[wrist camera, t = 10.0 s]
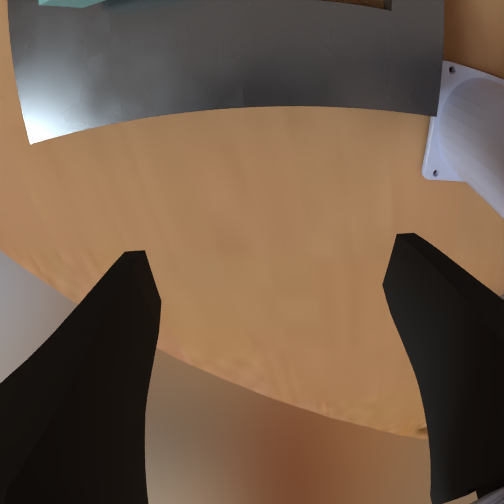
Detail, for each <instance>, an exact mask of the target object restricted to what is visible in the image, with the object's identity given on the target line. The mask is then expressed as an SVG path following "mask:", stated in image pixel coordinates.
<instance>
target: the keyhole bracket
mask: <svg viewBox="0 0 504 504" xmlns="http://www.w3.org/2000/svg"><path fill="white" fill-rule="evenodd" d="M8 19H9V32H10V42H11V51H12V58H13V65H14V72H15V78H16V84H17V89H18V94H19V99H20V104H21V109H22V113H23V117H24V122H25V126H26V130H27V133H28V137H29V141H30V144H32V143H36V142H39V141H43V140H46V139H50V138H53V137H57V136H61V135H65V134H69V133H73V132H77V131H81V130H85V129H90V128H94V127H99V126H103V125H108V124H113V123H119V122H124V121H129V120H135V119H141V118H147V117H154V116H161V115H168V114H176V113H184V112H193V111H203V110H214V109H227V108H243V107H267V106H324V107H347V108H363V109H375V110H386V111H396V112H404V113H412V114H420V115H427V116H433V117H437V111H438V104H439V95H440V86H441V76H442V63H443V47H444V0H384V9H379V8H374V7H368V6H362V5H355V4H348V3H340V2H331V1H320V0H105V1H102V2H99V3H96V4H93V5H90V6H87V7H84V8H77V7H64V6H43V5H39V0H8Z"/></svg>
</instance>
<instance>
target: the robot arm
mask: <svg viewBox="0 0 504 504" xmlns="http://www.w3.org/2000/svg"><path fill="white" fill-rule="evenodd" d="M450 66H451V67H452V71H451V73H450V72H449V67H450ZM435 170H436V173H435V174H433V172H434V171H435ZM422 175H423V176H424V177H425V178H426V179H430V180H447V181H462V182H466V183H467V184H469V185H470V186H471V187H472V188H473V189H474V190H475V191H476V192H477V193H478V194H479V195H480V196H481V197H482V198H483V199H484V200H486V201H487V202H488V203H489V204H490V205H491V206H492V207H493V208H494V209H495V210H496V211H497V212H498V214H499V215H500V216H501V217H502V218H503V219H504V79H501V78H498V77H496V76H493V75H490V74H487V73H485V72H482V71H479V70H476V69H473V68H469V67H466V66H463V65H460V64H456V63H453V62H449V61H445V60H443V63H442V76H441V86H440V95H439V104H438V111H437V117H433V116H431V119H430V126H429V132H428V139H427V145H426V150H425V156H424V161H423V166H422ZM382 285H383V289H384V292H385V296H386V300H387V303H388V306H389V310H390V313H391V315H392V318H393V320H394V323H395V325H396V328H397V330H398V332H399V335H400V337H401V340H402V342H403V344H404V347H405V349H406V352H407V354H408V357H409V359H410V362H411V364H412V367H413V370H414V372H415V375H416V378H417V382H418V385H419V389H420V393H421V398H422V402H423V407H424V412H425V417H426V423H427V430H428V437H429V447H430V459H431V491H430V496H431V501H432V504H443V503H446V502H449V501H452V500H455V499H458V498H460V497H463V496H466V495H468V494H470V493H472V492H474V491H476V493H477V497H478V500H476V501H474V502H472V503H471V504H504V300H503V299H502V298H501V297H499V296H498V295H497V294H495V293H494V292H493V291H491V290H490V289H489V288H487V287H486V286H485V285H483V284H482V283H481V282H480V281H478V280H477V279H476V278H474V277H473V276H472V275H471V274H469V273H468V272H467V271H465V270H464V269H463V268H462V267H460V266H459V265H458V264H457V263H455V262H454V261H453V260H451V259H450V258H449V257H448V256H446V255H445V254H444V253H442V252H441V251H440V250H438V249H437V248H436V247H434V246H433V245H432V244H430V243H429V242H427V241H426V240H424V239H423V238H421V237H420V236H418V235H417V234H415V233H404V234H397V235H396V239H395V243H394V247H393V250H392V254H391V257H390V261H389V264H388V268H387V271H386V275H385V278H384V281H383V284H382ZM160 313H161V299H160V296H159V293H158V290H157V287H156V284H155V281H154V278H153V275H152V272H151V269H150V265H149V262H148V259H147V256H146V252H145V250H142V251H128V252H124V253H123V254H122V255H121V256H120V258H119V259H118V260H117V261H116V262H115V263H114V264H113V265H112V266H111V268H110V269H109V270H108V271H107V272H106V273H105V274H104V276H103V277H102V278H101V279H100V280H99V282H98V283H97V284H96V285H95V286H94V287H93V288H92V290H91V291H90V292H89V293H88V294H87V295H86V297H85V298H84V299H83V300H82V301H81V303H80V304H79V305H78V306H77V307H76V308H75V309H74V310H73V311H72V313H71V314H70V315H69V316H68V317H67V318H66V319H65V320H64V322H63V323H62V324H61V325H60V326H59V327H58V329H57V330H56V331H55V332H54V333H53V334H52V335H51V336H50V337H49V338H48V339H47V340H46V341H45V342H44V343H43V344H42V345H41V346H40V347H39V348H38V349H37V350H36V351H35V352H34V353H33V354H32V355H31V356H30V357H29V358H28V359H27V360H26V361H25V362H24V363H23V364H22V365H20V366H19V367H18V368H17V369H16V370H15V371H14V372H12V373H11V374H10V375H9V376H8V377H7V378H6V379H5V380H4V381H3V382H1V383H0V504H148V497H147V486H146V473H145V411H146V402H147V394H148V389H149V383H150V378H151V372H152V367H153V361H154V356H155V350H156V345H157V340H158V335H159V326H160Z"/></svg>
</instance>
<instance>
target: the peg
mask: <svg viewBox="0 0 504 504" xmlns="http://www.w3.org/2000/svg"><path fill="white" fill-rule="evenodd" d="M102 1H105V0H39V5H43V6H64V7H77V8H84V7H87V6H90V5H93V4H96V3H99V2H102Z"/></svg>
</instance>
